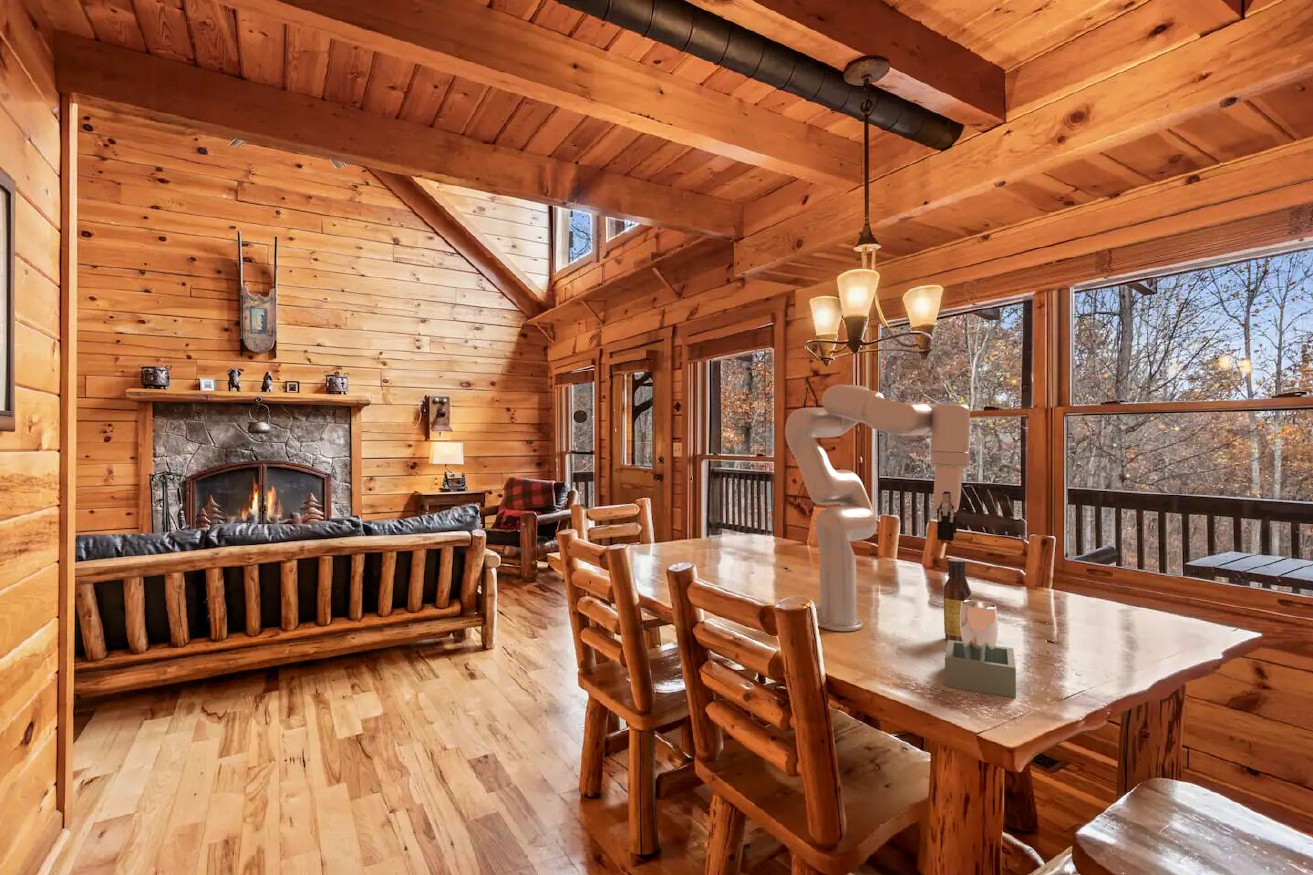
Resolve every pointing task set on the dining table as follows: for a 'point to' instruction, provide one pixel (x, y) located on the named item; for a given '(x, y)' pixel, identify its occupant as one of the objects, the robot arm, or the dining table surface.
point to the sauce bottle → (955, 598)
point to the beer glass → (978, 629)
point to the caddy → (981, 671)
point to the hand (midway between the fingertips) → (947, 536)
